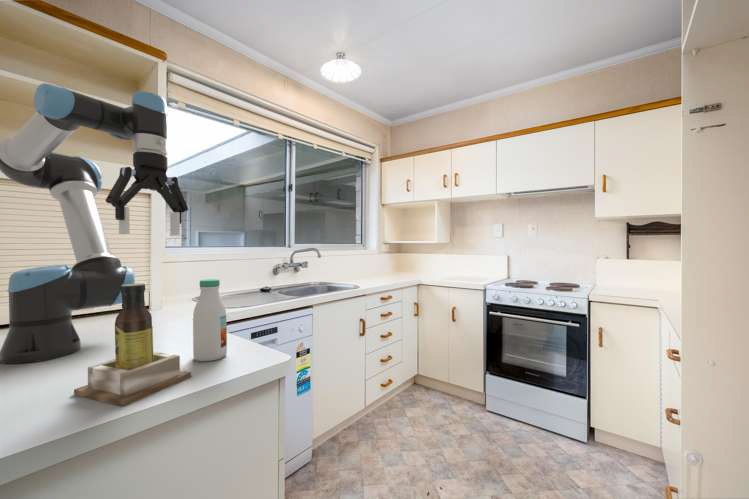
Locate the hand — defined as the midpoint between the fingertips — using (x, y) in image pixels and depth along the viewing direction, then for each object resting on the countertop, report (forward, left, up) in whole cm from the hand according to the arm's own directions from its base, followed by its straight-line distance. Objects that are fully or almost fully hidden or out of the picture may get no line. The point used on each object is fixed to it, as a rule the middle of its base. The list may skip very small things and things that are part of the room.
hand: (151, 234), depth 87 cm
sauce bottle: (+16, -15, -31) cm, 38 cm away
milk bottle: (+17, +3, -32) cm, 36 cm away
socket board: (+16, -15, -32) cm, 39 cm away
